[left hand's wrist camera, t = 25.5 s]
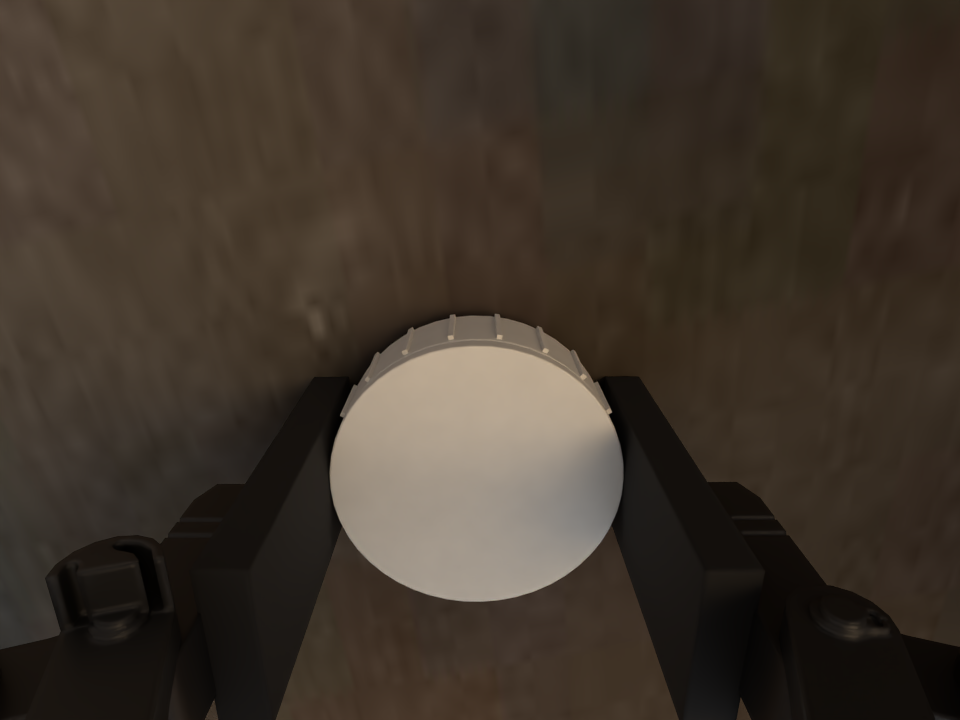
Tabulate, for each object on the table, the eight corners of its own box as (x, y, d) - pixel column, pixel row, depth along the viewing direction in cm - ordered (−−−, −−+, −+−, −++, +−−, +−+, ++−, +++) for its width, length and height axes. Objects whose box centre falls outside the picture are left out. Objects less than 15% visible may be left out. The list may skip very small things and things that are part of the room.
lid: (297, 465, 14) (271, 516, 13) (442, 257, 13) (436, 279, 11) (504, 585, 16) (508, 646, 14) (661, 409, 14) (689, 453, 12)
